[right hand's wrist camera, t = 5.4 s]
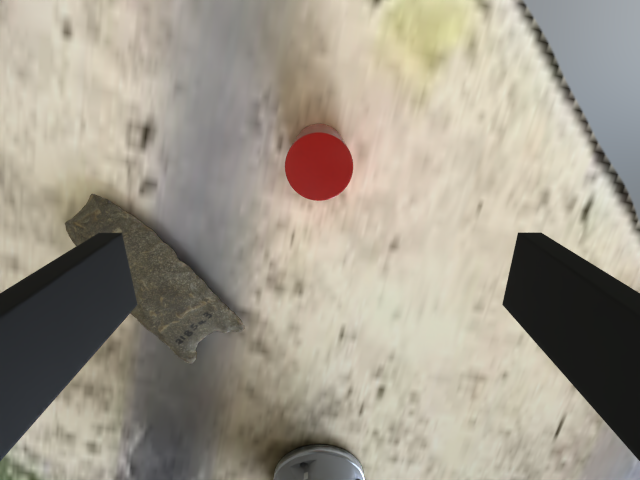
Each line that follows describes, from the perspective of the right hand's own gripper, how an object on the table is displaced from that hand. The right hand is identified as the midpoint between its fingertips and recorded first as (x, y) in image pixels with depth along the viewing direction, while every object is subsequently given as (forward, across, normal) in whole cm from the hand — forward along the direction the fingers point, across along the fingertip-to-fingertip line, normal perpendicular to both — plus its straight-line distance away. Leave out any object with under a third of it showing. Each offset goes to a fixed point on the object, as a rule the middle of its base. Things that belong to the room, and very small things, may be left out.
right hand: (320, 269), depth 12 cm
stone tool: (+32, +22, +17) cm, 42 cm away
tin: (+32, 0, 0) cm, 32 cm away
